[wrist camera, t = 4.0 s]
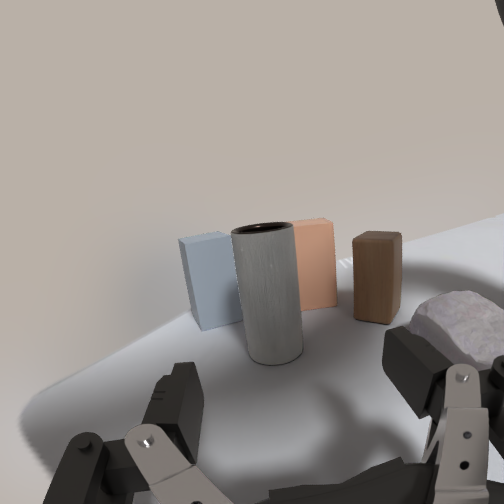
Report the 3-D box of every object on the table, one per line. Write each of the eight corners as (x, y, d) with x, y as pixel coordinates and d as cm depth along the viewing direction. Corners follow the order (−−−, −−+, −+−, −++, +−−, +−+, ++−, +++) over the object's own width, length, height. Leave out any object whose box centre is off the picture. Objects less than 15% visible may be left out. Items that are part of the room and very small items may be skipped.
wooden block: (366, 303, 28) (365, 230, 27) (400, 308, 26) (402, 231, 24) (352, 320, 26) (350, 238, 24) (390, 326, 23) (393, 239, 21)
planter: (249, 369, 20) (228, 235, 18) (248, 340, 25) (231, 226, 23) (308, 361, 20) (298, 227, 18) (298, 333, 25) (288, 219, 23)
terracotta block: (328, 291, 34) (323, 217, 32) (337, 305, 29) (333, 222, 27) (292, 296, 34) (284, 222, 32) (296, 311, 30) (288, 227, 28)
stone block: (464, 330, 22) (394, 343, 20) (478, 285, 21) (409, 288, 19) (542, 386, 10) (486, 433, 9) (567, 332, 9) (526, 364, 8)
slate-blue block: (229, 306, 33) (217, 231, 31) (243, 320, 29) (230, 235, 27) (193, 315, 32) (178, 238, 30) (201, 331, 28) (184, 244, 26)
